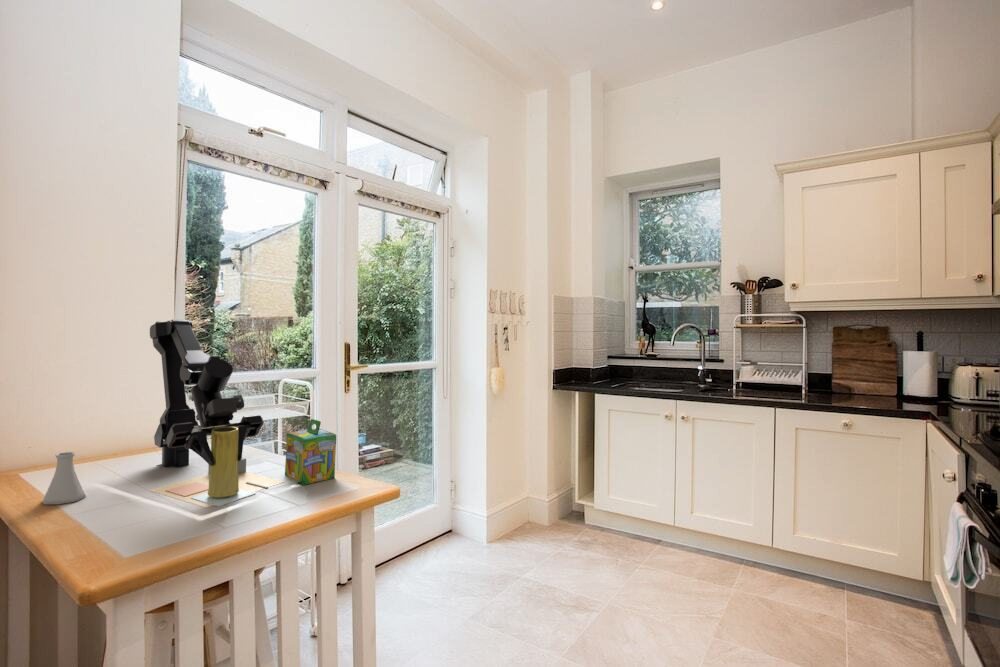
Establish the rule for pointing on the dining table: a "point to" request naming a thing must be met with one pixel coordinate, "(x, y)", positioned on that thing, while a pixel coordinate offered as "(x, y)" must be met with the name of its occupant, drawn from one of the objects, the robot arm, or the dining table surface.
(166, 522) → the dining table surface
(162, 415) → the robot arm
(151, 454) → the dining table surface
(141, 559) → the dining table surface
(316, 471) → the chalk box
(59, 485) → the flask
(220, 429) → the vase
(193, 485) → the picture board
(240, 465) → the button housing
